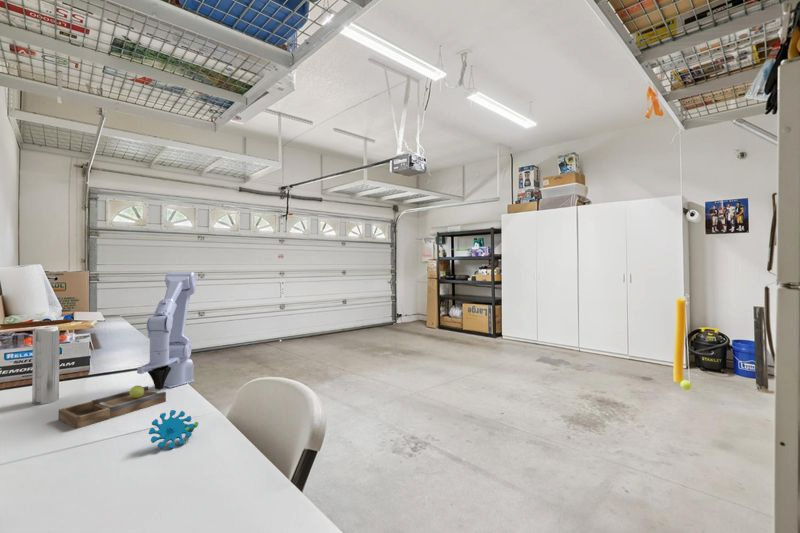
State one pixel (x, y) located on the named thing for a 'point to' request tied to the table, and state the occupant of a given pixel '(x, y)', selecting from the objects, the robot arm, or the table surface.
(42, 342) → the silver metal cylinder
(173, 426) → the gear
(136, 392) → the ball
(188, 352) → the robot arm
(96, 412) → the wooden tray
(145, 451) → the table surface
